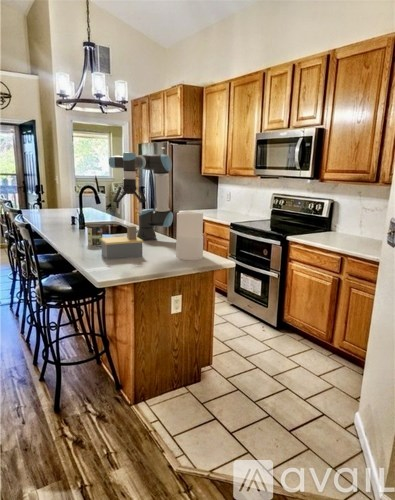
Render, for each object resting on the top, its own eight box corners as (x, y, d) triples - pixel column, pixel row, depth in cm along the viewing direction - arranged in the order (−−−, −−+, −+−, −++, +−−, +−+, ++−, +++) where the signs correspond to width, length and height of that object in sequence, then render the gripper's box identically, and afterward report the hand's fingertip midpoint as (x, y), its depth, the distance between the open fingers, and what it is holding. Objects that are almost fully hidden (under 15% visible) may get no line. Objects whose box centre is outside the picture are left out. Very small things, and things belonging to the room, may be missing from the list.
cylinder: (172, 254, 233) (173, 211, 226) (196, 252, 239) (197, 211, 233) (181, 261, 217) (182, 215, 211) (207, 258, 224) (208, 214, 217)
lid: (135, 239, 232) (135, 223, 230) (143, 244, 220) (142, 227, 217) (100, 242, 222) (100, 225, 219) (106, 247, 209) (106, 229, 207)
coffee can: (105, 244, 256) (104, 224, 253) (98, 247, 246) (98, 227, 243) (92, 243, 258) (91, 223, 255) (85, 246, 248) (84, 226, 245)
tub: (135, 252, 234) (135, 237, 231) (142, 257, 222) (142, 242, 219) (101, 255, 223) (101, 240, 221) (107, 261, 211) (106, 244, 209)
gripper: (146, 178, 224) (146, 212, 229) (107, 178, 212) (108, 213, 217) (151, 179, 217) (151, 213, 222) (110, 178, 206) (111, 214, 211)
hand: (129, 213), depth 220 cm, fingers open, 13 cm apart
